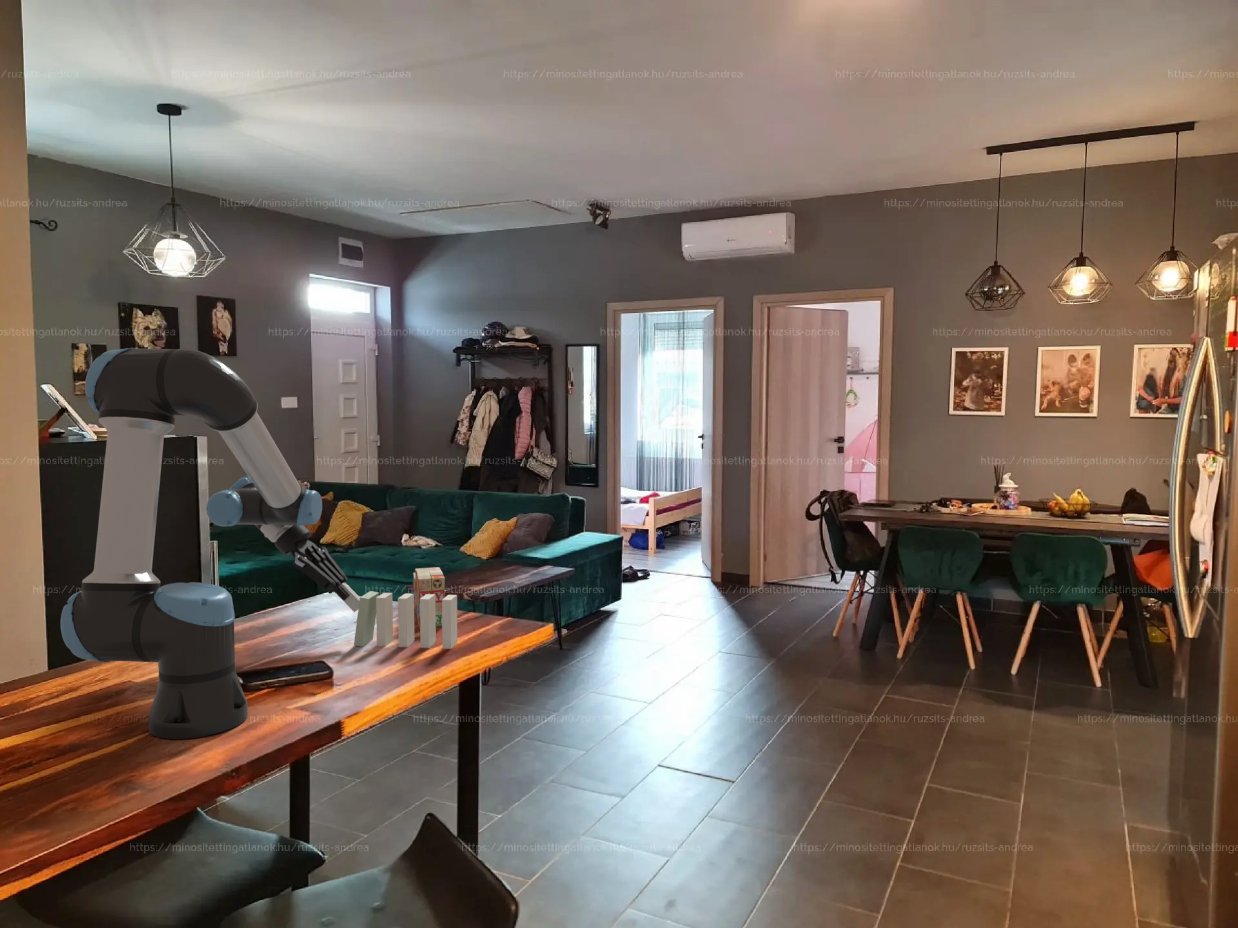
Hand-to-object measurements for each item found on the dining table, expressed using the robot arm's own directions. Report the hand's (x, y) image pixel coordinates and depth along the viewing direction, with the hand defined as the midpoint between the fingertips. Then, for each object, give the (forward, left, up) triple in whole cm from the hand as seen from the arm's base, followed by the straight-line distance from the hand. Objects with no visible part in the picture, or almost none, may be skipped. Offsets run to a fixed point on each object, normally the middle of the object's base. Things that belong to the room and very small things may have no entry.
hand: (359, 607), depth 189 cm
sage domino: (0, -1, -8) cm, 8 cm away
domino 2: (+7, -9, -8) cm, 14 cm away
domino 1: (+4, -5, -8) cm, 10 cm away
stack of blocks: (+23, +9, -8) cm, 26 cm away
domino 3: (+10, -13, -8) cm, 18 cm away
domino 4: (+13, -16, -8) cm, 23 cm away
